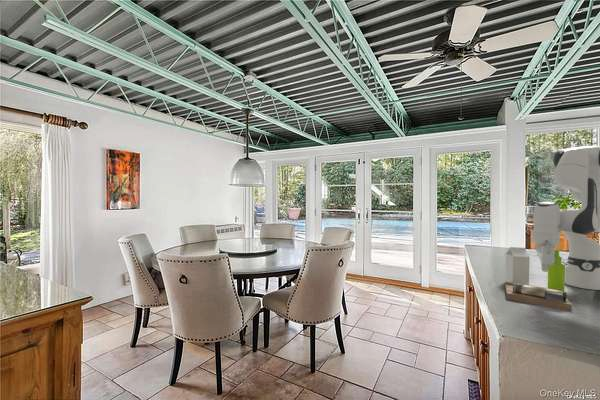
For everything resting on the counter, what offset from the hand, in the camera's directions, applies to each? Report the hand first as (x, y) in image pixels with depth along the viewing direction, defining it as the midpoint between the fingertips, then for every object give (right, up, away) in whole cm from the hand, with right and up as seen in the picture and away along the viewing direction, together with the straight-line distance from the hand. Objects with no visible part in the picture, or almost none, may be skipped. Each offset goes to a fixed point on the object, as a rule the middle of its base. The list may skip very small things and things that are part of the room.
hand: (544, 270), depth 119 cm
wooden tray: (-3, -12, +2) cm, 13 cm away
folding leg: (-6, -9, -4) cm, 12 cm away
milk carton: (+4, -13, +21) cm, 25 cm away
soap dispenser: (+16, -13, +11) cm, 23 cm away
